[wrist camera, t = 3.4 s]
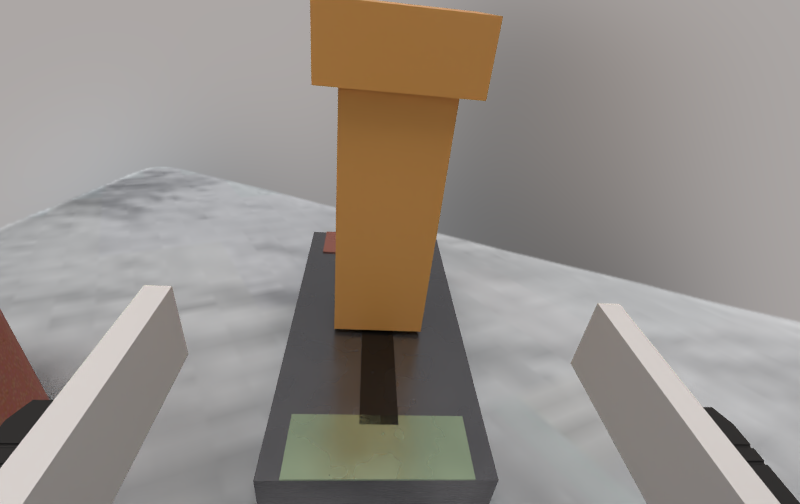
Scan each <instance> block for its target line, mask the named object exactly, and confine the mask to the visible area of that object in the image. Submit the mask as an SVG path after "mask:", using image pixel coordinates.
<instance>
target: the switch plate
mask: <svg viewBox="0 0 800 504" xmlns="http://www.w3.org/2000/svg"><path fill="white" fill-rule="evenodd" d="M335 256H336V232H327V233H323V232H314V235H313V239H312V244H311V248H310V252H309V256H308V260H307V264H306V268H305V272H304V276H303V280H302V284H301V289H300V293H299V297H298V301H297V305H296V309H295V313H294V317H293V321H292V325H291V329H290V333H289V338H288V342H287V346H286V350H285V354H284V358H283V362H282V366H281V370H280V374H279V378H278V382H277V387H276V391H275V395H274V399H273V403H272V407H271V411H270V415H269V419H268V423H267V427H266V432H265V436H264V440H263V444H262V448H261V452H260V456H259V460H258V464H257V468H256V472H255V476H254V481H253V482H254V488H255V493H256V499H257V504H489V502H490V500H491V497H492V495H493V492H494V490H495V487H496V485H497V482H498V477H497V473H496V469H495V465H494V461H493V457H492V454H491V450H490V446H489V442H488V438H487V434H486V430H485V426H484V423H483V419H482V415H481V411H480V407H479V403H478V399H477V395H476V391H475V388H474V384H473V380H472V376H471V372H470V368H469V364H468V360H467V357H466V353H465V349H464V345H463V341H462V337H461V333H460V329H459V325H458V322H457V318H456V314H455V310H454V306H453V302H452V298H451V294H450V291H449V287H448V283H447V279H446V275H445V271H444V267H443V263H442V259H441V256H440V252H439V248H438V244H437V240H436V242H435V248H434V254H433V260H432V266H431V272H430V278H429V284H428V290H427V296H426V302H425V308H424V314H423V320H422V326H421V332H414V331H385V330H355V329H334V317H335Z"/></svg>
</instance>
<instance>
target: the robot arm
mask: <svg viewBox="0 0 800 504" xmlns="http://www.w3.org/2000/svg"><path fill="white" fill-rule="evenodd" d="M187 356H188V351H187V346H186V342H185V338H184V334H183V330H182V326H181V322H180V318H179V314H178V310H177V306H176V301H175V297H174V293H173V289H172V286H154V285H144V286H143V287H142V288H141V290H140V291H139V292H138V293H137V295H136V296H135V297H134V298H133V300H132V301H131V302H130V304H129V305H128V306H127V307H126V309H125V310H124V311H123V313H122V314H121V315H120V316H119V318H118V319H117V320H116V321H115V323H114V324H113V325H112V327H111V328H110V329H109V330H108V332H107V333H106V334H105V335H104V337H103V338H102V339H101V341H100V342H99V343H98V344H97V346H96V347H95V348H94V349H93V351H92V352H91V353H90V355H89V356H88V357H87V358H86V360H85V361H84V362H83V364H82V365H81V366H80V367H79V369H78V370H77V371H76V372H75V374H74V375H73V376H72V378H71V379H70V380H69V381H68V383H67V384H66V385H65V386H64V388H63V389H62V390H61V392H60V393H59V394H58V395H57V397H56V398H55V399H54V400H32V401H30V402H29V403H28V404H26V405H25V406H24V407H22V408H21V409H20V410H18V411H17V412H15V413H14V414H13V415H11V416H10V417H9V418H7V419H6V420H5V421H4V422H3V423H2V425H1V426H0V504H112V503H113V501H114V499H115V497H116V495H117V493H118V491H119V489H120V487H121V485H122V483H123V481H124V479H125V477H126V475H127V473H128V471H129V469H130V467H131V465H132V463H133V461H134V460H135V458H136V456H137V454H138V452H139V450H140V448H141V446H142V444H143V442H144V440H145V438H146V436H147V434H148V432H149V430H150V428H151V426H152V424H153V422H154V420H155V418H156V416H157V414H158V412H159V411H160V409H161V407H162V405H163V403H164V401H165V399H166V397H167V395H168V393H169V391H170V389H171V387H172V385H173V383H174V381H175V379H176V377H177V375H178V373H179V371H180V369H181V367H182V365H183V363H184V362H185V360H186V358H187ZM571 364H572V366H573V368H574V370H575V372H576V374H577V376H578V377H579V379H580V381H581V383H582V385H583V387H584V388H585V390H586V392H587V394H588V396H589V398H590V400H591V401H592V403H593V405H594V407H595V409H596V411H597V412H598V414H599V416H600V418H601V420H602V422H603V423H604V425H605V427H606V429H607V431H608V433H609V435H610V436H611V438H612V440H613V442H614V444H615V446H616V447H617V449H618V451H619V453H620V455H621V457H622V459H623V460H624V462H625V464H626V466H627V468H628V470H629V471H630V473H631V475H632V477H633V479H634V481H635V483H636V484H637V486H638V488H639V490H640V492H641V494H642V495H643V497H644V499H645V501H646V503H647V504H800V503H799V502H798V500H797V499H796V498H795V497H794V496H793V494H792V493H791V492H790V491H789V490H788V489H787V487H786V486H785V485H784V484H783V483H782V481H781V480H780V479H779V478H778V477H777V475H776V474H775V473H774V472H773V471H772V470H771V468H770V467H769V466H768V465H765V464H764V460H763V459H762V458H761V457H760V455H759V454H758V453H757V452H756V451H755V449H754V448H751V447H750V443H749V442H748V441H747V440H746V439H745V438H744V436H743V435H742V434H741V433H740V432H739V430H738V429H737V428H736V427H735V426H734V425H733V424H732V423H731V422H730V421H728V420H727V419H726V418H725V417H723V416H722V415H721V414H720V413H718V412H717V411H716V410H715V409H713V408H712V407H702V406H701V404H700V403H699V402H698V401H697V399H696V398H695V397H694V396H693V394H692V393H691V392H690V391H689V389H688V388H687V387H686V386H685V384H684V383H683V382H682V381H681V379H680V378H679V377H678V376H677V374H676V373H675V372H674V371H673V370H672V368H671V367H670V366H669V365H668V363H667V362H666V361H665V360H664V358H663V357H662V356H661V355H660V353H659V352H658V351H657V350H656V348H655V347H654V346H653V345H652V343H651V342H650V341H649V340H648V338H647V337H646V336H645V335H644V333H643V332H642V331H641V330H640V328H639V327H638V326H637V325H636V324H635V322H634V321H633V320H632V319H631V317H630V316H629V315H628V314H627V312H626V311H625V310H624V309H623V307H622V306H621V305H620V304H604V303H598V304H597V306H596V308H595V310H594V313H593V315H592V317H591V319H590V322H589V324H588V326H587V328H586V330H585V333H584V335H583V337H582V339H581V342H580V344H579V346H578V348H577V351H576V353H575V355H574V357H573V359H572V362H571Z"/></svg>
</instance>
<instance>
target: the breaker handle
mask: <svg viewBox="0 0 800 504" xmlns="http://www.w3.org/2000/svg"><path fill="white" fill-rule="evenodd" d="M310 13H311V14H310V17H311V75H312V76H311V79H312V85H317V86H328V87H338V136H337V140H338V141H337V196H336V197H337V198H336V200H337V202H336V256H335V317H334V329H355V330H385V331H414V332H421V326H422V320H423V314H424V308H425V302H426V296H427V290H428V284H429V278H430V272H431V266H432V260H433V254H434V248H435V242H436V236H437V230H438V223H439V217H440V212H441V206H442V200H443V194H444V187H445V182H446V176H447V170H448V164H449V158H450V152H451V146H452V139H453V134H454V128H455V122H456V115H457V110H458V104H459V98H460V99H471V100H482V101H486V99H487V93H488V88H489V84H490V78H491V73H492V69H493V64H494V58H495V54H496V49H497V44H498V38H499V33H500V29H501V24H502V18H503V16H497V15H492V14H487V13H481V12H474V11H465V10H456V9H447V8H438V7H430V6H421V5H411V4H403V3H393V2H385V1H376V0H310Z"/></svg>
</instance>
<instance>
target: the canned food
mask: <svg viewBox="0 0 800 504" xmlns="http://www.w3.org/2000/svg"><path fill="white" fill-rule="evenodd" d="M32 400H51V398H50V397H48V396H47V394H46V393H45V391H44V389H43V387H42V385H41V383H40V381H39V380H38V378H37V376H36V374H35V372H34V370H33V369H32V367H31V365H30V363H29V361H28V359H27V358H26V356H25V354H24V352H23V350H22V348H21V346H20V345H19V343H18V341H17V339H16V337H15V335H14V334H13V332H12V330H11V328H10V326H9V324H8V322H7V321H6V319H5V317H4V315H3V313H2V311H1V310H0V426H1V425H2V423H3V422H4V421H5V420H6V419H7V418H9V417H10V416H11V415H13V414H14V413H15V412H17V411H18V410H20V409H21V408H22V407H24V406H25V405H26V404H28V403H29V402H30V401H32Z"/></svg>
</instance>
